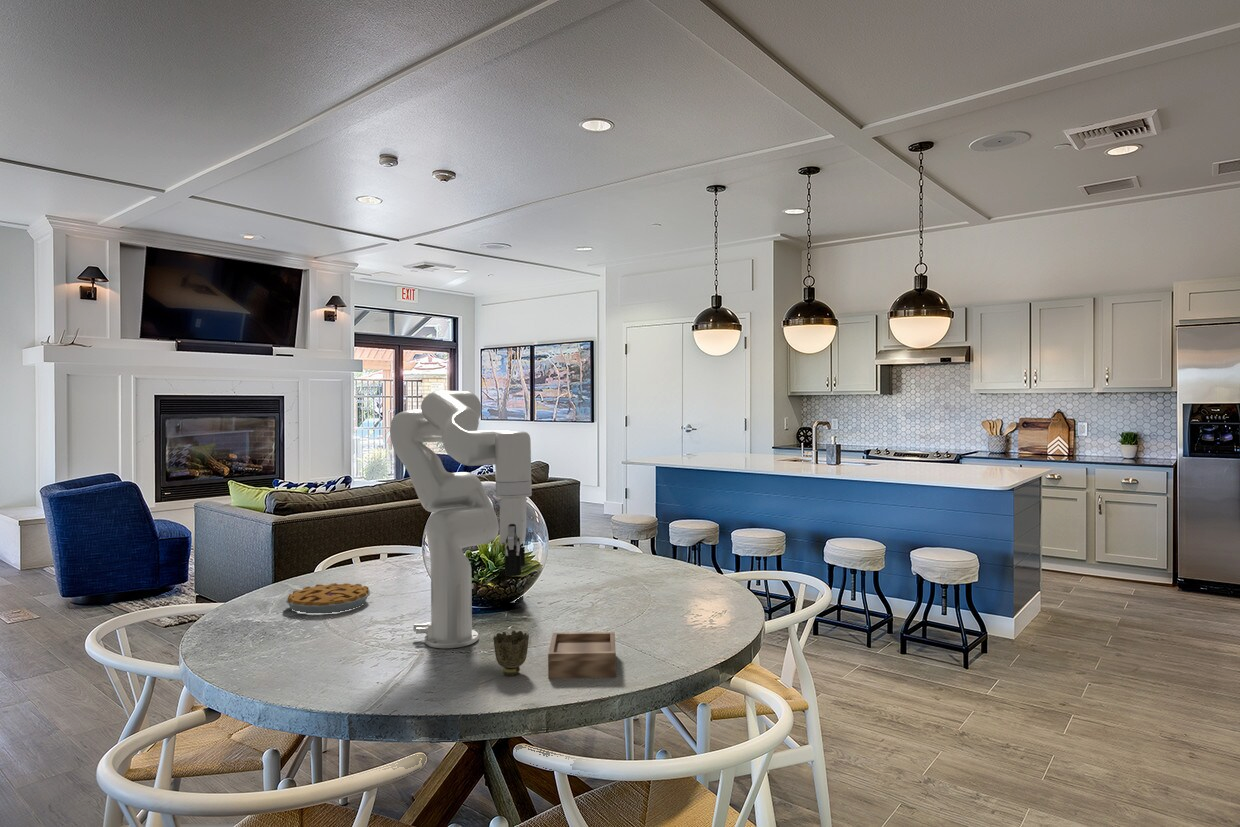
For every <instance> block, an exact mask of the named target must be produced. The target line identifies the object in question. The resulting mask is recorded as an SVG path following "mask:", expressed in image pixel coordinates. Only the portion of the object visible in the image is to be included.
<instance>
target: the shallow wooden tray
mask: <svg viewBox="0 0 1240 827" xmlns="http://www.w3.org/2000/svg"><path fill="white" fill-rule="evenodd" d="M615 633H616V632H615V631H602V632H601V631H600V632H599V631H598V632H597V631H596V632H595V631H593V632H591V631H588V632H587V631H586V632H577V631H576V632H552V634H551V640H550V643H549V648H548V649H549V650H548V652H547V665H548V666H547V673H548V674H547V675H548V676H547V679H588V678H589V679H596V678H600V679H602V678H603V679H604V678H605V679H606V678H607V679H608V678H611V679H612V678H613V679H614V678H617V670H616V669H617V663H616V661H617V659H616V658H617V653H616V652H617V650H616V637H615V635H616V634H615Z"/></svg>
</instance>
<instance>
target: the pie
mask: <svg viewBox="0 0 1240 827" xmlns="http://www.w3.org/2000/svg"><path fill="white" fill-rule="evenodd" d="M370 595H371V590H370V589H369V587H368V586H366V585H364V586H362V583H361V584H360V583H356V584H351V583H345V582H344V583H342V584H341V583H340V584H339V583H337V582H336V583H335V582H334V583H330V584H315V586H313V587H312V586H305V587H303V588H302V589H301V590H300V589H299V590H293V592H292V593H289V594H288V596H287V598H286V601H285V602H286V604H288V606H289V607H290V610H291V609H293V610H295V611H300V612H306V613H332V612H340V611H345V610H349V609H353V608H356V607H359V606H361V605H362V604H364V605H365V604H366V601H367V598H368V597H369V596H370ZM362 606H363V605H362ZM362 606H361V607H362ZM359 608H360V607H359Z"/></svg>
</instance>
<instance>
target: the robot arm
mask: <svg viewBox="0 0 1240 827" xmlns="http://www.w3.org/2000/svg"><path fill="white" fill-rule="evenodd" d="M481 415H482V403H481V401H480V399H479V397H478V396H477V395H476V394H475V393H473V392H471V391H466V390H438V391H436V390H435V391H433V392H431V393H428V394H427V395H426V396H425V397H424V398H423V399H422V400H421V403H420V409H407V410H404V411H400V412H399V413H397V414H395V415H394V416H393V417H392V420H391V422H390V424H389V425H390V426H389V435H390V443H391V445H392V448H393V450H394V452H395V454H396V456H397V457H398V459H399V460H400V462H401V464H402V465H403V466H404V467H405V470H406V471H407V473H408V475H409V478H410V480H411V483H412V485H413V488H414V491H415V492H416V493H415V494H416V495H417V497H418V500H419V502H420V504H421V506H422V508H423V509H424V510H425V511H427V512H429V513H432V514H431V515H430V516H429V517H428V519H427V521H426V525H425V533H426V539H427V544H428V548H429V560H430V561H429V562H430V608H431V609H430V621H428V622H426V623H421V622H420V623H419V622H417V623H416V622H415V623H413V626H412V627H413V628H412V630H413V632H414V633H416V635H417V634H425V637H424V643H425V645H427V646H428V647H430V648H434V649H436V648H437V649H456V648H462V647H463V648H464V647H467V646H470V645H472V644H474V643H476V642H477V641H478V640H479V633H478V632H477V631H476V630H474V629H473V627H472V626H473V623H472V622H473V618H472V617H473V614H472V613H473V608H472V607H473V606H472V601H473V600H472V597H473V596H472V594H473V593H472V591H473V590H472V589H473V588H472V566H471V565H472V564H471V562H470V560H469V559H468V557H467V556H466V554H465V553H464V551H463V549H464V548H469V547H474V546H475V547H477V546H482V545H486V544H490V543H492V542H493V541H495V540H496V538H497V537H498V534H499V544H500V546H504V544H505V555H504V559H505V575H506V576H512V575H520V574H521V569H522V566H525V564H526V560H525V559H526V556H525V555H526V554H525V552H526V550H525V540H526V538H527V537H526V536H527V498H528V497H532V496H533V495H532V493H533V491H532V486H533V485H532V447H531V444H532V443H531V435H530V434H529V433H528V432H527V431H523V430H522V431H521V430H519V431H517V430H516V431H515V430H514V431H513V430H505V429H504V430H503V429H499V430H478V428H479V423H480V422H479V420H480V417H481ZM424 443H442V444H443V448H444V451H445V452H446V454H447V455H449V457H451V458H452V459H454V461H456V462H458V464H460V465H463V466H468V467H473V466H474V467H475V466H477V467H478V466H488V465H495V467H494V468H495V497H496V498H498V499H500V502H499V519H498V516H497V514H496V511H495V509H494V507H493V505H492V503H491V500H490V498H489V496H488V493H487V490H486V489H485V487H484V485H483V483H482V481H481V480H480V479H479V477H478V476H476V475H475V474H474V473H472V472H469V471H468V472H467V471H459V472H450V471H447V470H446V469H445V467H444V465H443V462H442V459H441V458H440V457H439V455H438V454H437V453H436V452H435V451H433V450H432V449H431V448H429V447H428V446H426V445H425V444H424Z"/></svg>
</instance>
